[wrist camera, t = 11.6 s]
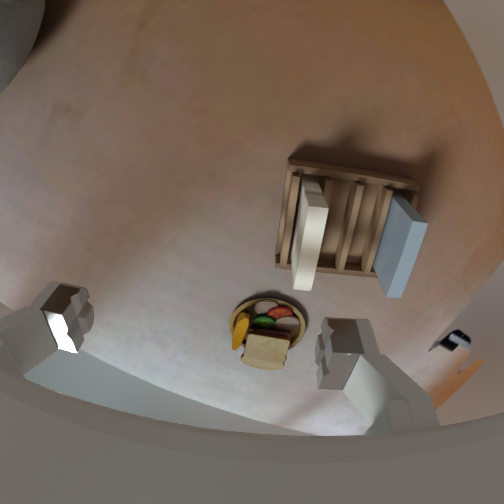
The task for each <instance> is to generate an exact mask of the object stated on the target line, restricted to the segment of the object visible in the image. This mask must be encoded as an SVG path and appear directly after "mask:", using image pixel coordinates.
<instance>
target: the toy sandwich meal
mask: <svg viewBox="0 0 504 504" xmlns="http://www.w3.org/2000/svg"><path fill="white" fill-rule="evenodd" d="M305 328H306V324H305V319H304V317H303V315H302V314H301V312H300V311H299V310H298V309H297V308H296V307H294V306H293V305H291V304H290V303H288V302H285V301H282V300H279V299H273V298H260V299H255V300H251V301H249V302H246V303H244V304H242V305H241V306H239V307H238V308H237V309H236V310H235V311H234V312H233V314H232V316H231V318H230V321H229V329H230V332H231V335H232V336H233V338H232V349H233V350H237V348H238V347H239V345H241V346H243V347H245V350H244V353H243V354H242V356H241V361H242V362H243V363H245V364H246V365H249V366H251V367H255V368H259V369H266V370H277V369H281V368H283V367H284V361H285V360H286V354H287V351H288V349H289V348H291V347H293V346H294V345H296V344H297V343H298V342H299V341H300V340H301V338H302V337H303V335H304V333H305Z"/></svg>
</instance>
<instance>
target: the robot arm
mask: <svg viewBox="0 0 504 504" xmlns="http://www.w3.org/2000/svg"><path fill="white" fill-rule="evenodd" d="M89 297H90V296H89V293H88V290H87V289H86V288H84V287H80V286H75V285H71V284H66V283H60V282H56V281H51V282H49V283H48V284H47V286H46V287H45V288H44V289H43V290H42V292H41V293H40V294H39V295H38V296H37V298H36V299H35V300H34V301H33V302H32V304H31V305H30V306H29V307H27V306H25V307H23V308H21V309H19V310H17V311H15V312H13V313H11V314H9V315H7V316H5V317H4V318H1V319H0V504H504V412H503V413H499V414H496V415H492V416H488V417H483V418H480V419H475V420H471V421H466V422H461V423H456V424H450V425H445V426H440V424H439V420H438V417H437V414H436V411H435V408H434V404H433V401H432V398H431V396H430V395H429V394H428V393H427V392H425V391H424V390H423V389H422V388H421V387H420V386H419V385H418V384H417V383H415V382H414V381H413V380H412V379H411V378H410V377H409V376H408V375H407V374H405V373H404V372H403V371H402V370H401V369H400V368H399V367H398V366H396V365H395V364H394V363H393V362H392V361H391V360H390V359H389V358H388V357H386V356H385V355H380V352H379V348H378V345H377V342H376V339H375V335H374V332H373V329H372V326H371V323H370V321H369V320H368V319H347V318H330V317H325V318H324V319H323V322H322V325H321V329H322V333H321V334H320V335H318V338H317V341H316V347H315V362H316V364H317V365H318V366H319V368H318V370H317V382H318V389H333V390H343V392H344V394H345V395H346V396H347V398H348V399H349V400H350V401H351V403H352V404H353V405H354V407H355V408H356V409H357V411H358V412H359V413H360V415H361V416H362V417H363V419H364V420H365V421H366V422H367V424H368V425H369V426H370V428H369V429H368V430H367V432H366V433H365V434H364V435H349V436H289V435H269V434H255V433H244V432H234V431H225V430H216V429H209V428H202V427H195V426H190V425H183V424H178V423H172V422H167V421H162V420H157V419H152V418H148V417H143V416H139V415H135V414H131V413H127V412H123V411H119V410H115V409H111V408H108V407H104V406H101V405H97V404H94V403H91V402H87V401H84V400H81V399H78V398H75V397H72V396H68V395H65V394H63V393H60V392H57V391H54V390H52V389H49V388H46V387H43V386H41V385H39V384H36V383H33V382H31V381H29V380H27V379H26V378H25V376H24V375H25V374H26V373H27V372H28V371H30V370H31V369H33V368H34V367H35V366H37V365H38V364H39V363H41V362H42V361H43V360H45V359H46V358H47V357H48V356H50V355H51V354H53V353H54V352H55V351H56V350H58V348H59V349H63V350H67V351H71V352H75V353H77V352H78V350H79V348H80V347H81V345H82V343H83V341H84V336H83V335H84V334H86V333H87V332H89V331H90V329H91V327H92V325H93V321H94V311H93V307H92V306H91V304H90V303H89V302H88V299H89Z"/></svg>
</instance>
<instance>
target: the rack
mask: <svg viewBox="0 0 504 504" xmlns="http://www.w3.org/2000/svg"><path fill="white" fill-rule="evenodd" d="M421 188H422V186H420V185H419V184H418V183H417V182H416V181H415V180H413V179H412V178H407V177H402V176H397V175H392V174H387V173H382V172H376V171H371V170H365V169H359V168H353V167H347V166H341V165H334V164H328V163H321V162H313V161H306V160H298V159H290V158H288V162H287V170H286V178H285V186H284V193H283V201H282V209H281V216H280V224H279V231H278V238H277V246H276V253H275V268H280V269H290V270H292V278H293V289H295V290H306V291H311V288H312V284H313V280H314V275H315V272H321V273H331V274H342V275H353V276H364V277H375V278H378V277H377V275H376V272H375V270H374V268H373V266H372V264H373V261H374V258H375V255H376V252H377V248H378V245H379V241H380V238H381V235H382V231H383V228H384V224H385V220H386V217H387V213H388V209H389V205H390V201H391V197H392V193H393V192H394V193H400V194H401V195H402V196H403V197H404V198H405V199H406V200H407V201H408V202H409V203H410V204H411V205H412V207H413V208H414V209H415V210H416V207H417V204H418V200H419V197H420V196H419V195H418V194H417V193H416V192H420V191H421Z"/></svg>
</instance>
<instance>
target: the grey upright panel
mask: <svg viewBox="0 0 504 504" xmlns="http://www.w3.org/2000/svg"><path fill="white" fill-rule="evenodd" d="M427 225H428V223H427V222H426V221H425V220H424V218H423V217H422V216H421V215H420V214H419V213H418V212H417V211H416V210H415V209H414V208H413V207H412V205H411V204H410V203H409V202H408V201H407V200H406V199H405V198H404V197H403V196H402V195H401V194H400V193H394V192H393V193H392V197H391V201H390V205H389V209H388V213H387V217H386V220H385V224H384V228H383V231H382V235H381V238H380V241H379V245H378V248H377V252H376V255H375V258H374V261H373V264H372V266H373V268H374V270H375V272H376V275H377V277H378V279H379V281H380V284H381V286H382V288H383V291H384V293H385V295H386V297H393V298H401V296H402V293H403V291H404V288H405V286H406V284H407V281H408V278H409V276H410V273H411V271H412V268H413V265H414V263H415V260H416V257H417V255H418V252H419V249H420V246H421V243H422V240H423V237H424V234H425V231H426V228H427Z"/></svg>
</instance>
